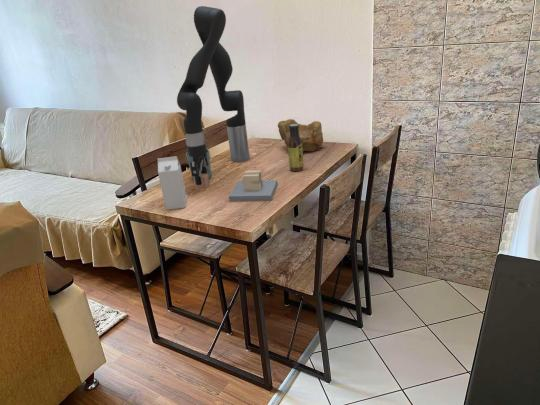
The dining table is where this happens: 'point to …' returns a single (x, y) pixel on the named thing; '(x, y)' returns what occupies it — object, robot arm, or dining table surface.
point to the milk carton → (172, 183)
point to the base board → (254, 192)
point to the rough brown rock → (303, 134)
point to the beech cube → (252, 180)
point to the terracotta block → (204, 182)
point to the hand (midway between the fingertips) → (202, 181)
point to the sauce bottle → (295, 149)
